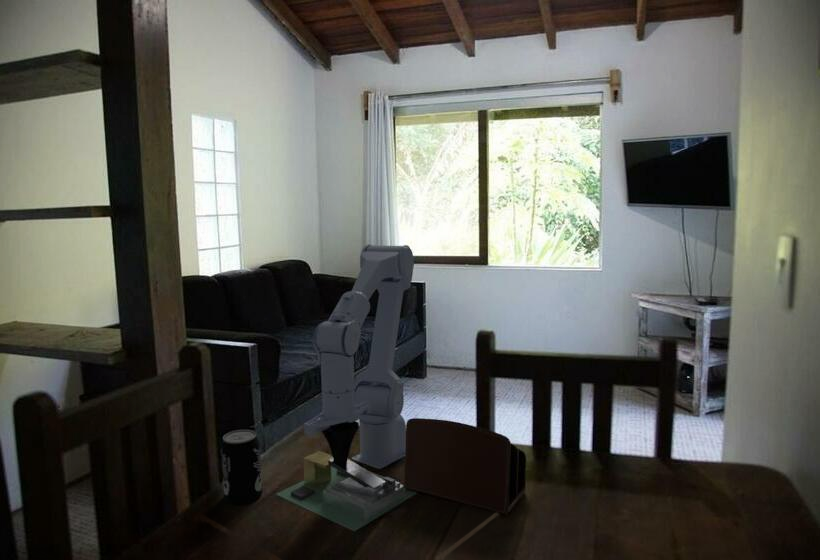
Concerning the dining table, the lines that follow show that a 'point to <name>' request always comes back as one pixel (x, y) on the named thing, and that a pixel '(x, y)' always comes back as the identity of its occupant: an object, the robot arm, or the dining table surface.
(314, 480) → the keeper
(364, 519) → the block
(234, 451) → the beverage can
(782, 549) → the dining table surface
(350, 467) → the strap
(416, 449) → the letter holder
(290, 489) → the board
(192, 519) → the dining table surface
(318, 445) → the dining table surface
